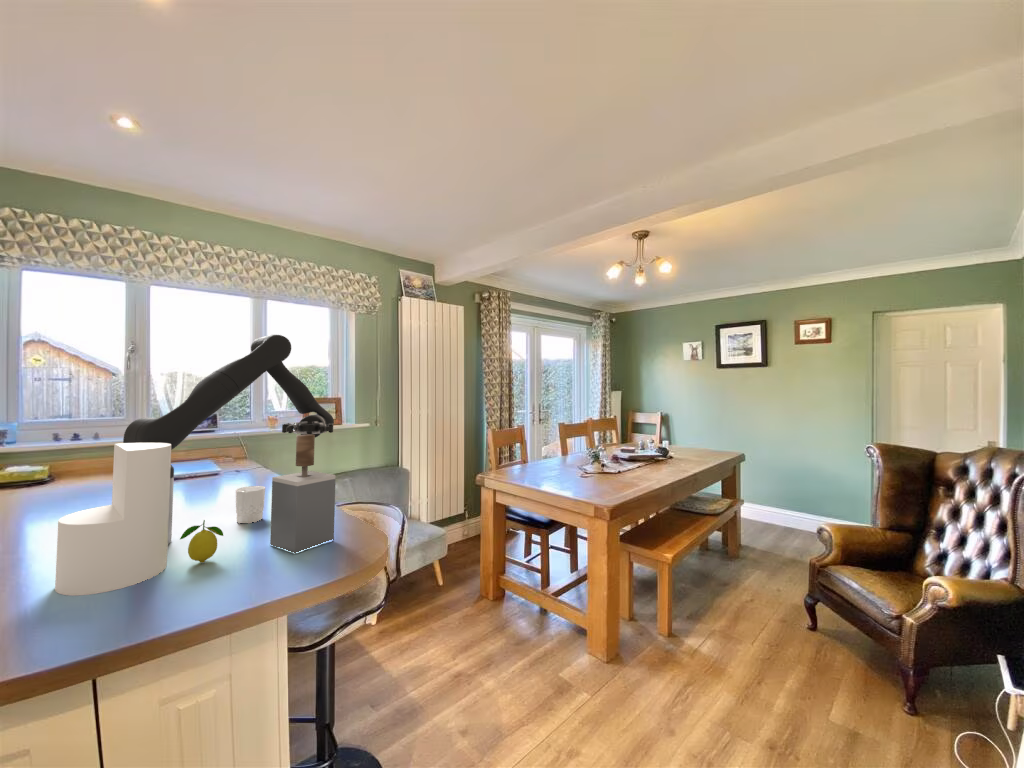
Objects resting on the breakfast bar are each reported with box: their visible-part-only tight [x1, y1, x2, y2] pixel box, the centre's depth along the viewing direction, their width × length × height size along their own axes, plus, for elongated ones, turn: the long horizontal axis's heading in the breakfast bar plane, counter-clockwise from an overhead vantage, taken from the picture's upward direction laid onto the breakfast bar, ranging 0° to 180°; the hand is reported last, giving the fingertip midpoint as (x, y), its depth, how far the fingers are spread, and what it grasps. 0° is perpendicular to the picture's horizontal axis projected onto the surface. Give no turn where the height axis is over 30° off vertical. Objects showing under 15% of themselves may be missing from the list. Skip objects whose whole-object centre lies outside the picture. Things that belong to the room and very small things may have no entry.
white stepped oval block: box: [54, 442, 172, 597], centre depth 89 cm, size 17×17×28 cm
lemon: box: [179, 519, 224, 564], centre depth 96 cm, size 7×6×10 cm
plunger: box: [295, 434, 316, 478], centre depth 109 cm, size 8×8×27 cm
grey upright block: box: [269, 470, 337, 553], centre depth 109 cm, size 11×11×18 cm
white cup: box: [235, 485, 266, 524], centre depth 128 cm, size 8×8×10 cm
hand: (305, 429), depth 121 cm, fingers open, 8 cm apart
